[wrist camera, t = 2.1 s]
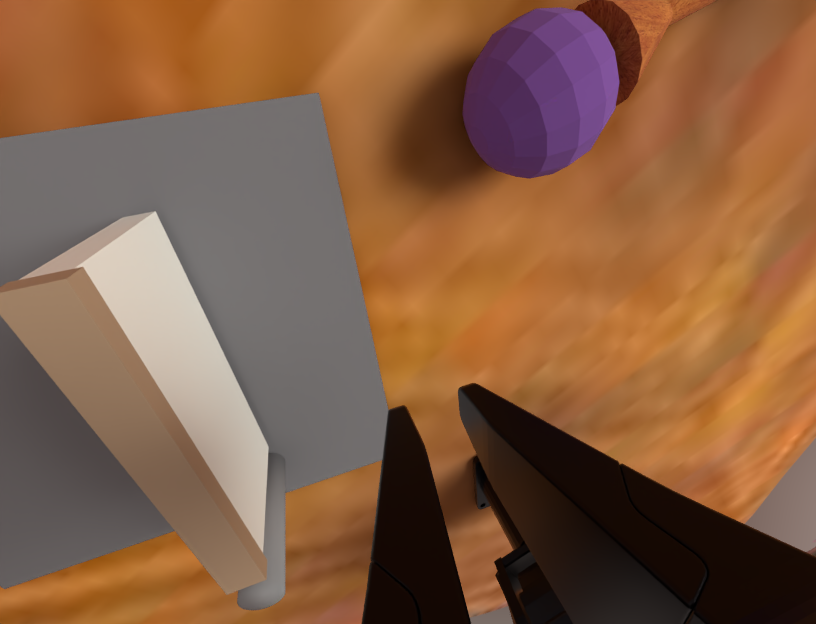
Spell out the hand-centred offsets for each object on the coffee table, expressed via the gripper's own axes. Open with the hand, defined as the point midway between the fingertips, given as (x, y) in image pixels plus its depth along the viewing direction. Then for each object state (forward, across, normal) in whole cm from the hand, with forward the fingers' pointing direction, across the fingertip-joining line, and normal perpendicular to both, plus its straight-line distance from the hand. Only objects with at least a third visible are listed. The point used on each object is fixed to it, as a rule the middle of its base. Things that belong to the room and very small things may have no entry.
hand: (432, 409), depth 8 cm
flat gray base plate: (+12, +12, +4) cm, 17 cm away
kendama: (+12, -15, -8) cm, 21 cm away
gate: (+11, +8, +3) cm, 14 cm away
